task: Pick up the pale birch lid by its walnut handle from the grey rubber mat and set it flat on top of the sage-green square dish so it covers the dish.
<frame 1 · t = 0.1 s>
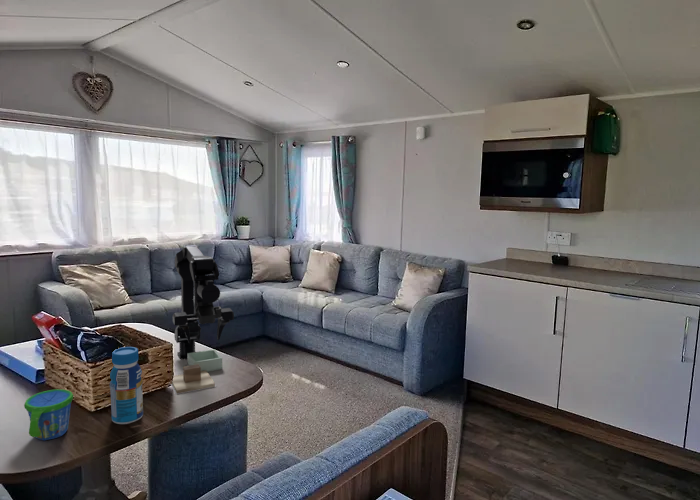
hand: (204, 341, 157), 14 cm above the table, tool pointing down, fingers open, 9 cm apart
mat: (192, 383, 158), on the table
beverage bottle: (127, 418, 135), on the table
lid: (192, 382, 158), resting on mat
snack cup: (51, 434, 125), on the table
dish: (204, 367, 172), on the table
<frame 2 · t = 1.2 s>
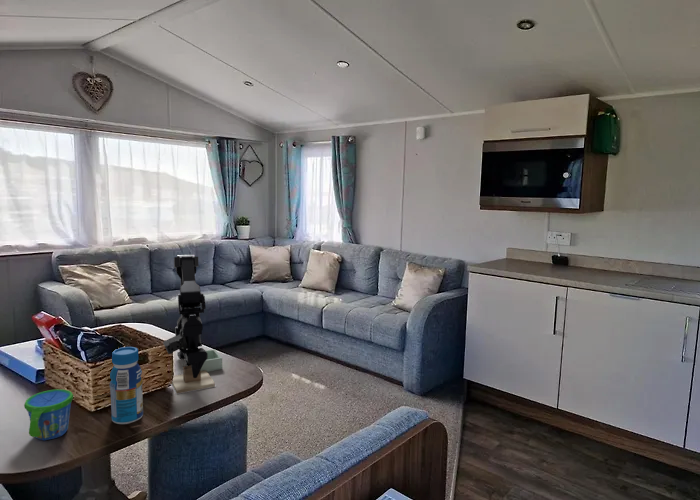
hand: (192, 372, 157), 4 cm above the table, tool pointing down, fingers open, 9 cm apart
nothing on the table moved.
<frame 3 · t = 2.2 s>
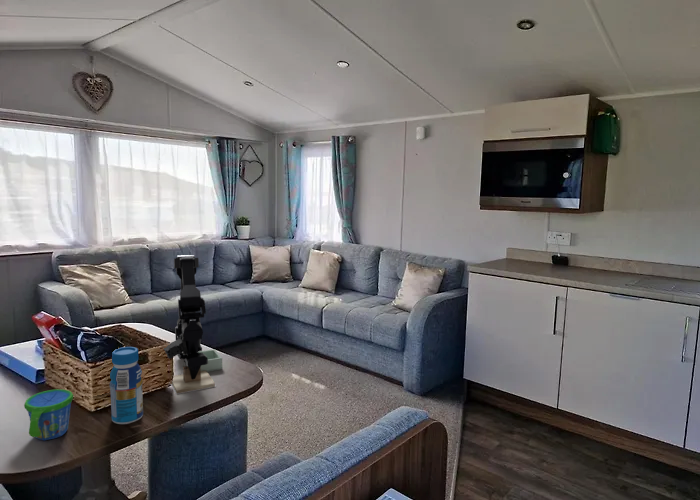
hand: (192, 377, 158), 2 cm above the table, tool pointing down, fingers closed on lid, 3 cm apart
lid: (192, 382, 158), resting on mat, touching gripper
everything else where it was.
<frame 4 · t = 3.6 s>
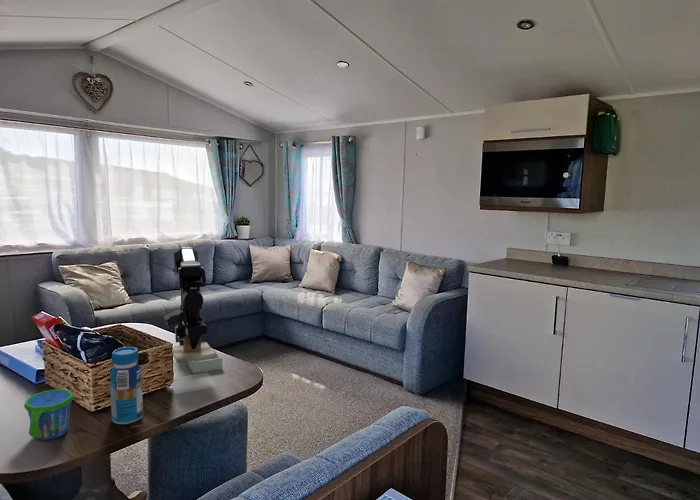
hand: (192, 347, 157), 12 cm above the table, tool pointing down, fingers closed on lid, 3 cm apart
lid: (192, 353, 157), point 10 cm above the table, touching gripper
everything else where it was.
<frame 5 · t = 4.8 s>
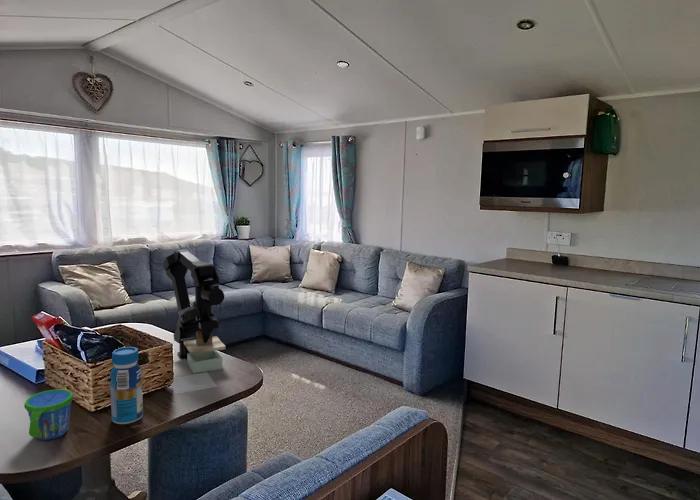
hand: (204, 341, 170), 10 cm above the table, tool pointing down, fingers closed on lid, 3 cm apart
lid: (204, 346, 171), point 8 cm above the table, touching gripper
everything else where it was.
when the fingers open (8 cm above the table, at t = 5.4 s): lid drops 1 cm, resting on dish.
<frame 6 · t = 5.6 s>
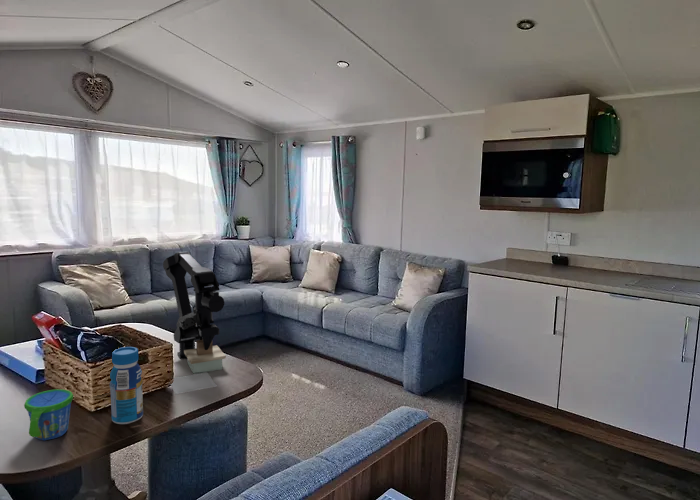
hand: (204, 347, 171), 8 cm above the table, tool pointing down, fingers open, 5 cm apart
lid: (204, 355, 171), point 4 cm above the table, touching dish
everything else where it was.
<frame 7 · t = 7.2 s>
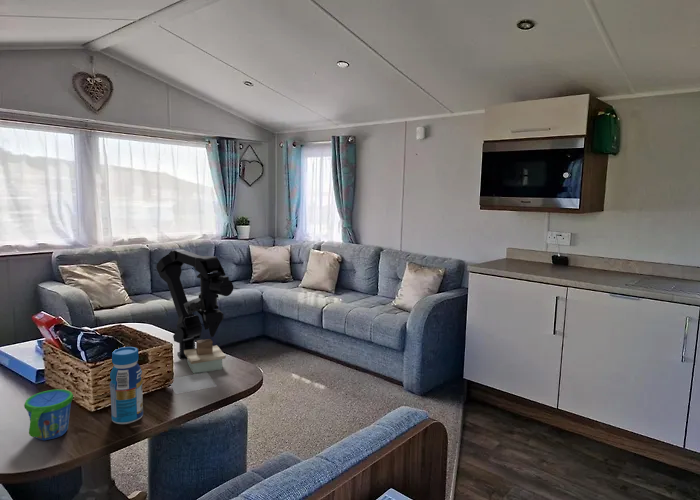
hand: (209, 333, 173), 12 cm above the table, tool pointing down, fingers open, 9 cm apart
nothing on the table moved.
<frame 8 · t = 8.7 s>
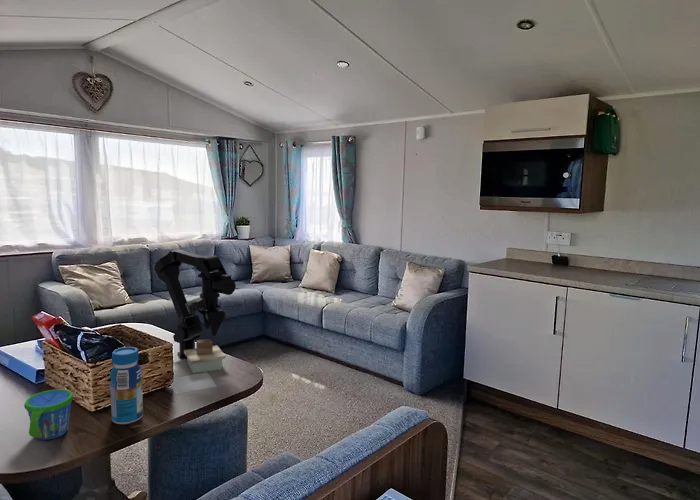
hand: (210, 332, 174), 12 cm above the table, tool pointing down, fingers open, 9 cm apart
nothing on the table moved.
at the end: lid 0.0 cm off-centre on the dish, point 4.5 cm above the dish's base; lid tilted 0°; the gripper is holding nothing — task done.
